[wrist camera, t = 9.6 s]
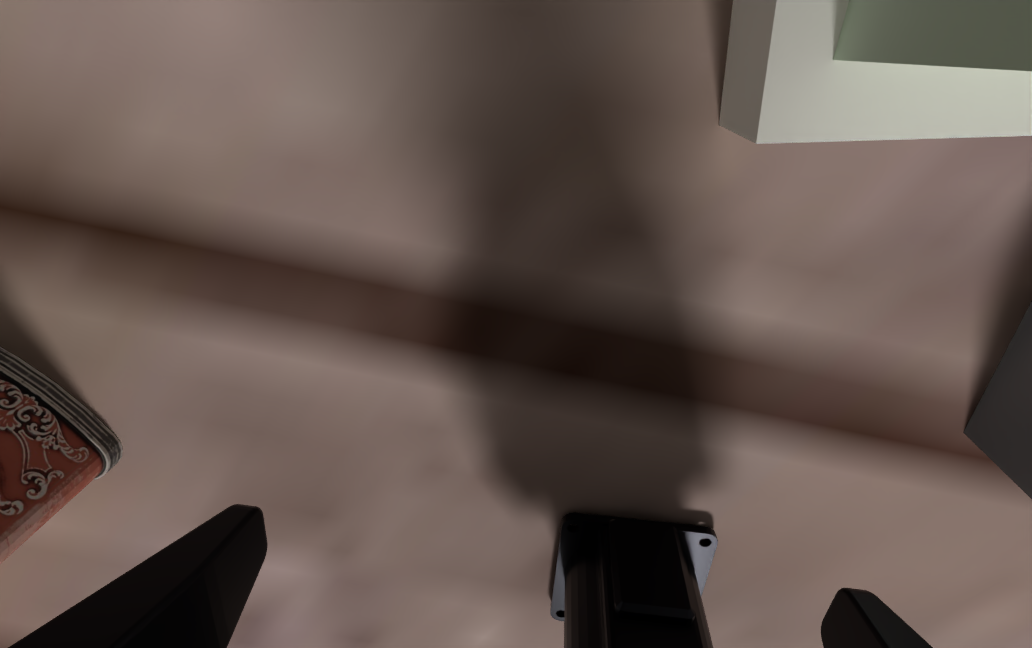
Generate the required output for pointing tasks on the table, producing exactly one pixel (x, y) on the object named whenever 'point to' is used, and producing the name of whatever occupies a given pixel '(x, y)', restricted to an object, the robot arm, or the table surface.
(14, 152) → the table surface
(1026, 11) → the sage block
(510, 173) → the table surface
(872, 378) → the table surface
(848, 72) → the base block
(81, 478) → the lighter
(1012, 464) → the charcoal block
